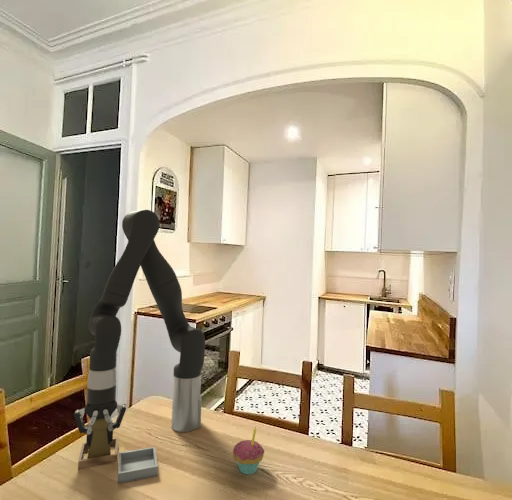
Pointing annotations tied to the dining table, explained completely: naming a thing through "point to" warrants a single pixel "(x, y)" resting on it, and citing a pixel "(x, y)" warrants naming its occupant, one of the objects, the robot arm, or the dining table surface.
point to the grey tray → (137, 465)
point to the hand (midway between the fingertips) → (99, 444)
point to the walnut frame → (97, 460)
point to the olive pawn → (99, 439)
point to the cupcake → (248, 455)
